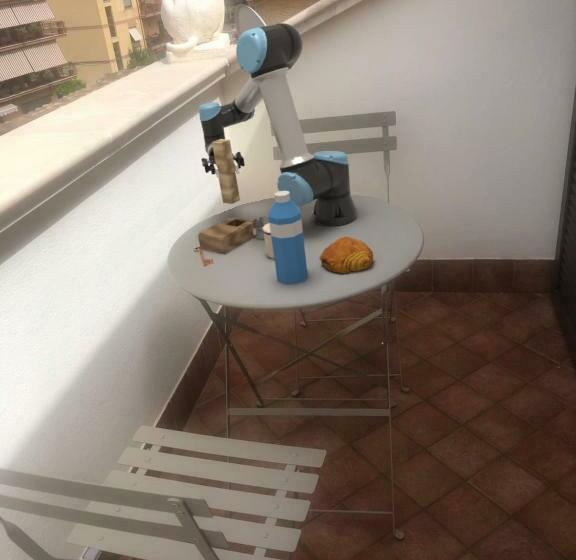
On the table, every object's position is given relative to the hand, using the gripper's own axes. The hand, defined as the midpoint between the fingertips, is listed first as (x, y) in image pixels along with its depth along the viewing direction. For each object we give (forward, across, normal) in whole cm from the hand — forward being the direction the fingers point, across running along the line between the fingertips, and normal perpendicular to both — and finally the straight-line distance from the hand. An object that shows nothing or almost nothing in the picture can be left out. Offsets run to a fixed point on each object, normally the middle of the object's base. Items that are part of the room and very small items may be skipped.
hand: (227, 171), depth 179 cm
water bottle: (+32, -11, -25) cm, 42 cm away
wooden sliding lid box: (-2, +3, -24) cm, 25 cm away
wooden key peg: (-5, 0, -12) cm, 13 cm away
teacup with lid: (+13, -11, -25) cm, 30 cm away
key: (+5, +12, -25) cm, 28 cm away
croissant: (+30, -27, -25) cm, 48 cm away
